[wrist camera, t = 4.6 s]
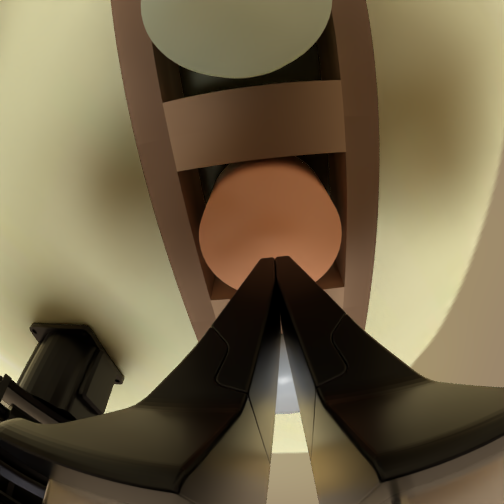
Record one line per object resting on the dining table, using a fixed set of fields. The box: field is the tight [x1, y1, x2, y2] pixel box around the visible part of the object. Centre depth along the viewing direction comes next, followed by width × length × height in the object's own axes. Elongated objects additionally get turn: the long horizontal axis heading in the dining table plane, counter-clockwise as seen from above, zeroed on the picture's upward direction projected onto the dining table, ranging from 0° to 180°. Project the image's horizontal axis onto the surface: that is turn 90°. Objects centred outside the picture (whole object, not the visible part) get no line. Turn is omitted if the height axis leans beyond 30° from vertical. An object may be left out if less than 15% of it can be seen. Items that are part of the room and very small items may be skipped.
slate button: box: [275, 334, 300, 414], centre depth 15 cm, size 5×5×3 cm
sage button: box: [141, 0, 332, 79], centre depth 7 cm, size 5×5×3 cm
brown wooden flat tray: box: [111, 0, 379, 342], centre depth 12 cm, size 8×24×3 cm, turn 8°
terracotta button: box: [199, 156, 342, 290], centre depth 12 cm, size 5×5×3 cm
